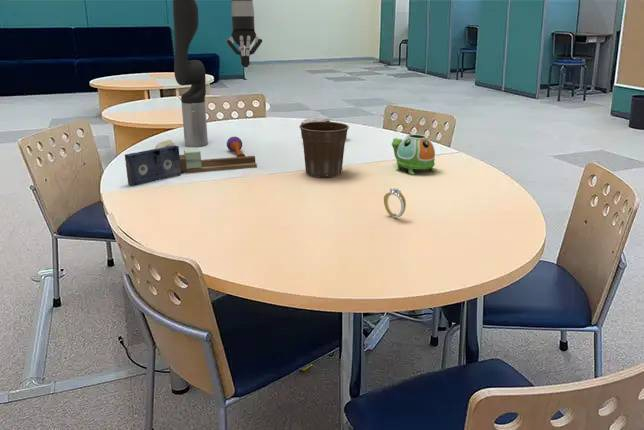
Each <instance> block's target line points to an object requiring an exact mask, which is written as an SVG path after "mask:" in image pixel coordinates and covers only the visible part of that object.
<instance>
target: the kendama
mask: <svg viewBox="0 0 644 430" xmlns="http://www.w3.org/2000/svg"><path fill="white" fill-rule="evenodd" d="M226 147H227V149H228V150H229V152H231V153H235V154H236V155H235V157H243V156H246V155H245V153H243V152H242V151H241V150H242V148H243V141H242V139H241V138H240V137H238V136H231V137H229V138H228V139H227V141H226Z"/></svg>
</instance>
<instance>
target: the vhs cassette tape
mask: <svg viewBox="0 0 644 430" xmlns="http://www.w3.org/2000/svg"><path fill="white" fill-rule="evenodd" d="M175 145H176V144H175ZM175 145H174V146H169V147H164V148H159V149H155V148H154V149H153V148H152V149H148V150H147V149H146V150H142V151H138V152H132V153H127V154H124V161H125V168H126V169H125V170H126V177H127V184H128V186H132V187H135V186H140V185H144V184H149V183H152V182H157V181H162V180H165V179H170V178H174V177H178V176H182V174H181V169H180V168H181V166H180V157H179V156H180V155H181V154H180V147H179V145H176V146H175Z"/></svg>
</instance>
